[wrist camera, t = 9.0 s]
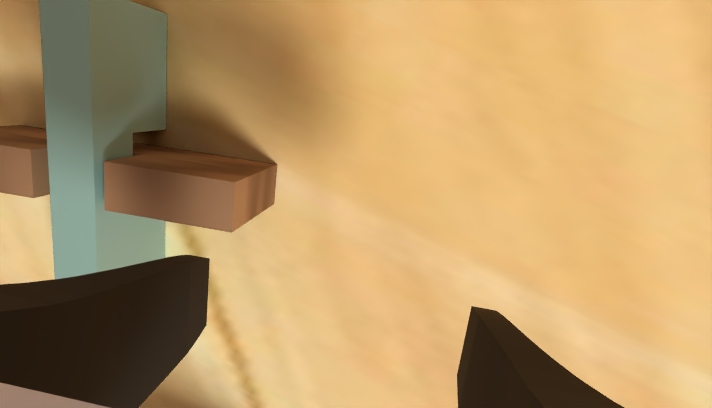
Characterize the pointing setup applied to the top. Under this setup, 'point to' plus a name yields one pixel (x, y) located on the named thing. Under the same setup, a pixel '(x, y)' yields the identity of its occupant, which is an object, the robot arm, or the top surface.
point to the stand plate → (151, 181)
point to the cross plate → (99, 125)
